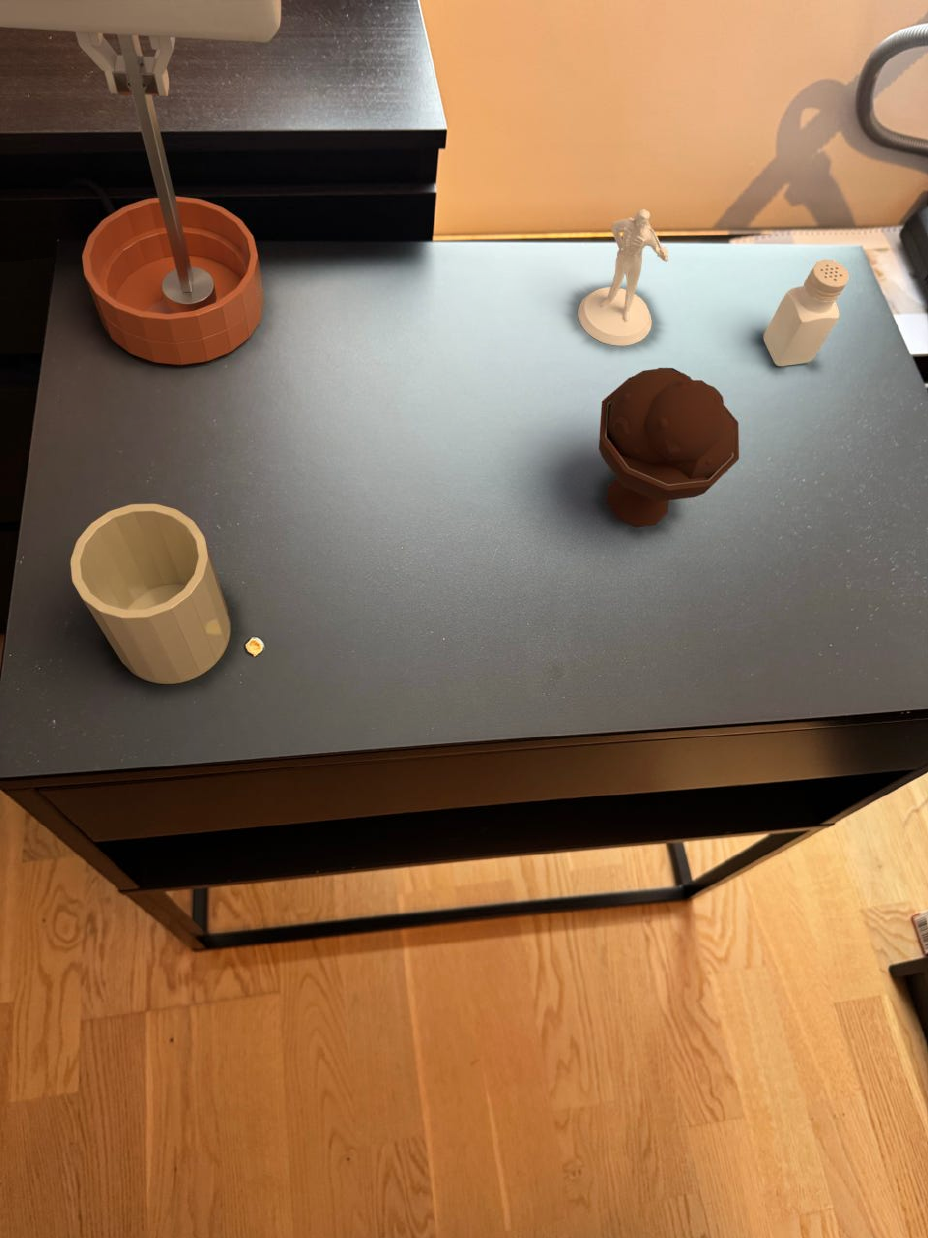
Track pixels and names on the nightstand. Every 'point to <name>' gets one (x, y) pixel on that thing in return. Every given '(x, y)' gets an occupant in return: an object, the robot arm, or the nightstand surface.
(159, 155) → the metal stirring rod
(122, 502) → the nightstand surface
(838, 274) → the salt shaker
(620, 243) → the figurine
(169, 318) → the bowl
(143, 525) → the crock
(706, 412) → the ice cream bowl
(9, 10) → the robot arm
